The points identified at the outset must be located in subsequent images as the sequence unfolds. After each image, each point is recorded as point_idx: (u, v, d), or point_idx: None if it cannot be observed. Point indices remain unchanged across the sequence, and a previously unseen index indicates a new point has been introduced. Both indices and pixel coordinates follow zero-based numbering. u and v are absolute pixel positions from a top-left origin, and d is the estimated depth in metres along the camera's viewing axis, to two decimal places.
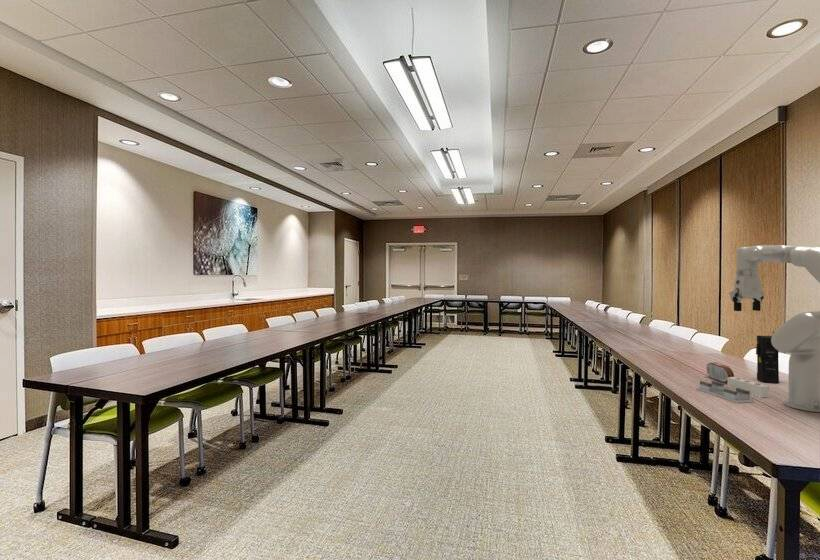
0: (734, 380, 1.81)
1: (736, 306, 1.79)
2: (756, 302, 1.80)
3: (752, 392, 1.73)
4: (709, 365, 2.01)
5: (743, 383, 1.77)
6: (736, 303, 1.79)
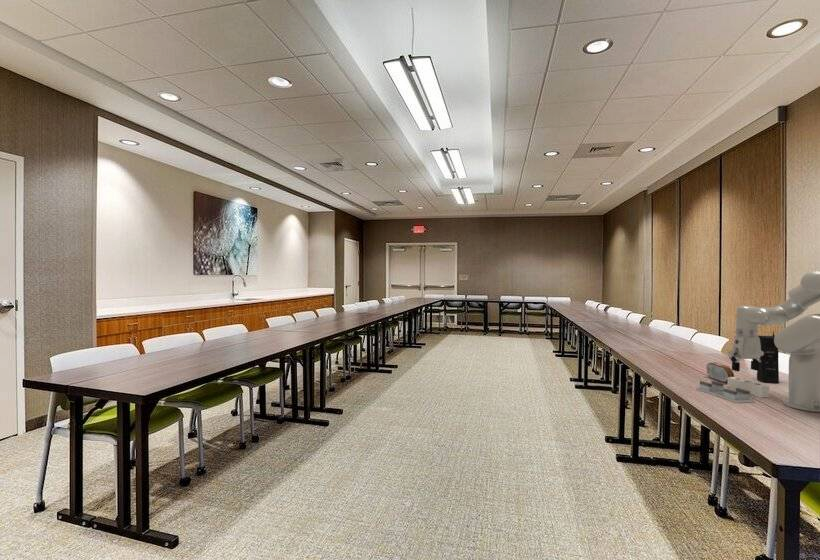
0: (734, 380, 1.81)
1: (734, 366, 1.77)
2: (755, 361, 1.78)
3: (752, 392, 1.73)
4: (709, 365, 2.01)
5: (743, 383, 1.77)
6: (734, 362, 1.77)
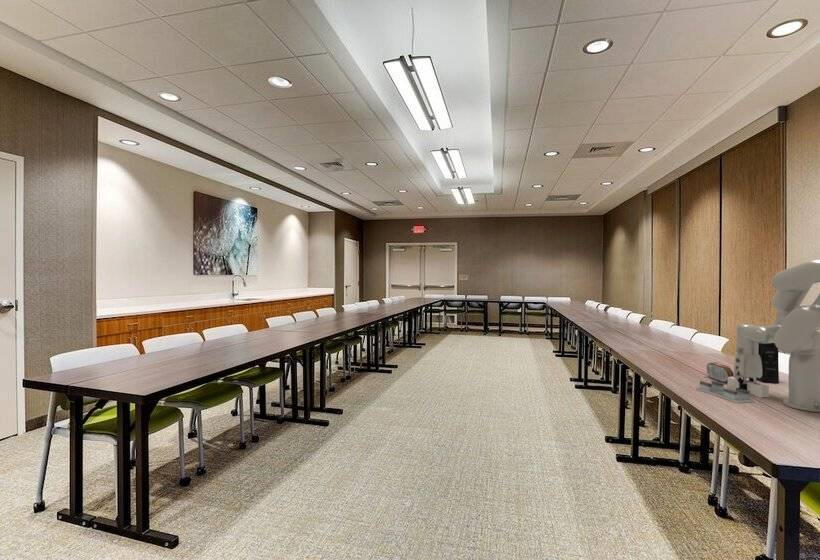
0: (734, 380, 1.81)
1: (742, 387, 1.76)
2: None
3: (752, 392, 1.73)
4: (709, 365, 2.01)
5: None
6: (741, 384, 1.76)
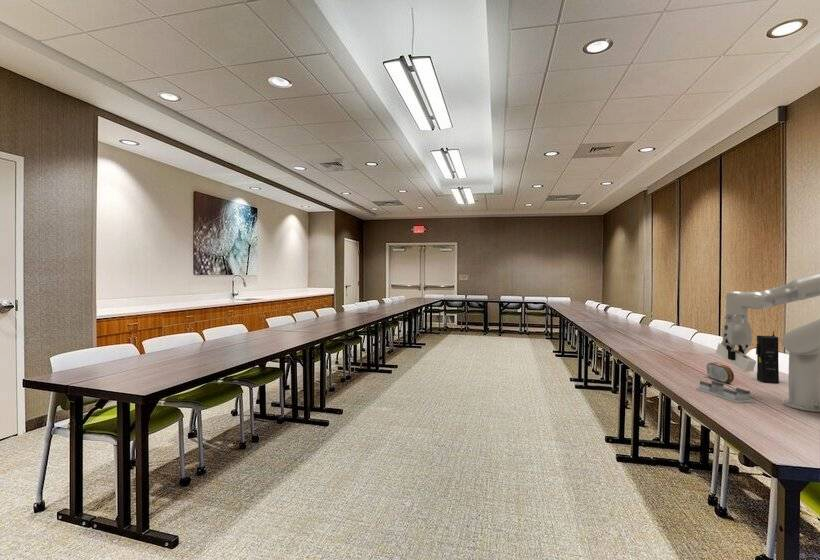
0: (724, 348, 1.79)
1: (730, 355, 1.74)
2: (740, 351, 1.75)
3: (738, 363, 1.72)
4: (709, 365, 2.01)
5: None
6: (730, 351, 1.74)
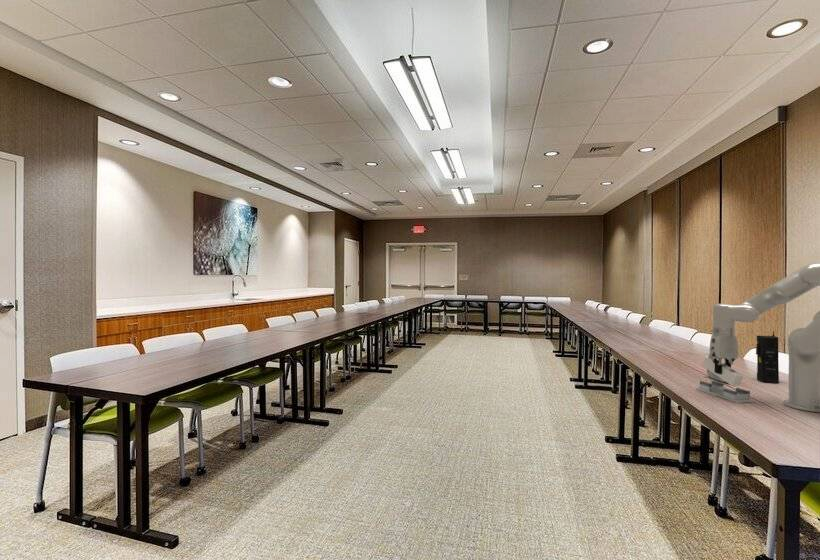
0: (710, 361, 1.76)
1: (717, 368, 1.72)
2: (727, 364, 1.72)
3: (724, 377, 1.69)
4: None
5: None
6: (717, 365, 1.72)
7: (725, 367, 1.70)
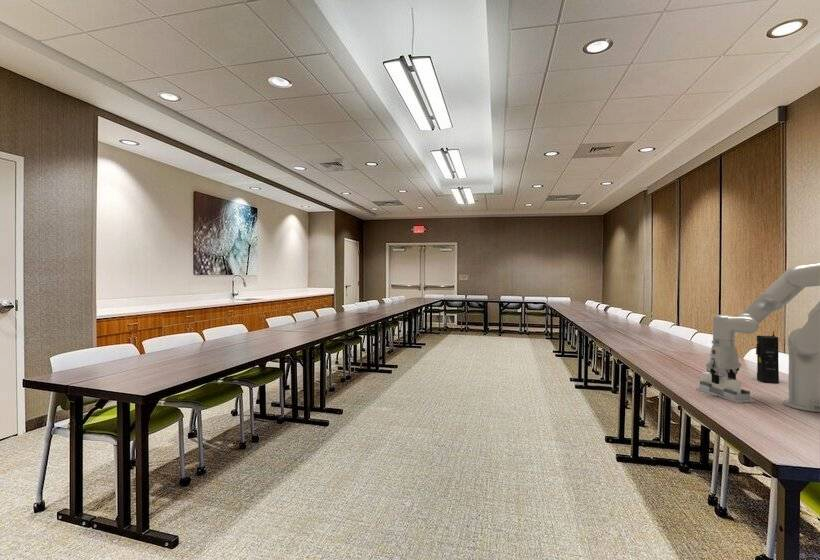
0: (707, 375, 1.78)
1: (714, 378, 1.71)
2: (731, 374, 1.72)
3: (724, 387, 1.69)
4: None
5: None
6: (713, 375, 1.71)
7: (722, 377, 1.72)
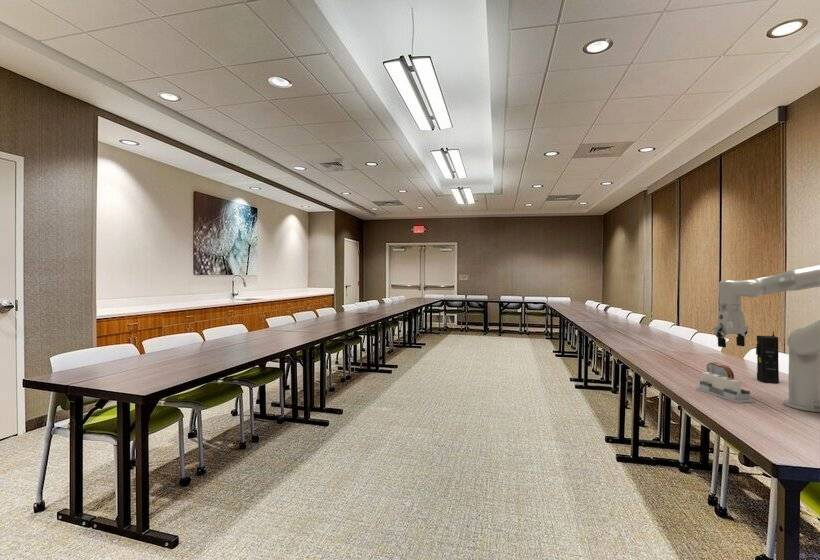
0: (707, 375, 1.78)
1: (720, 342, 1.72)
2: (740, 337, 1.74)
3: (724, 387, 1.69)
4: (709, 365, 2.01)
5: (716, 378, 1.73)
6: (720, 338, 1.72)
7: (722, 377, 1.72)
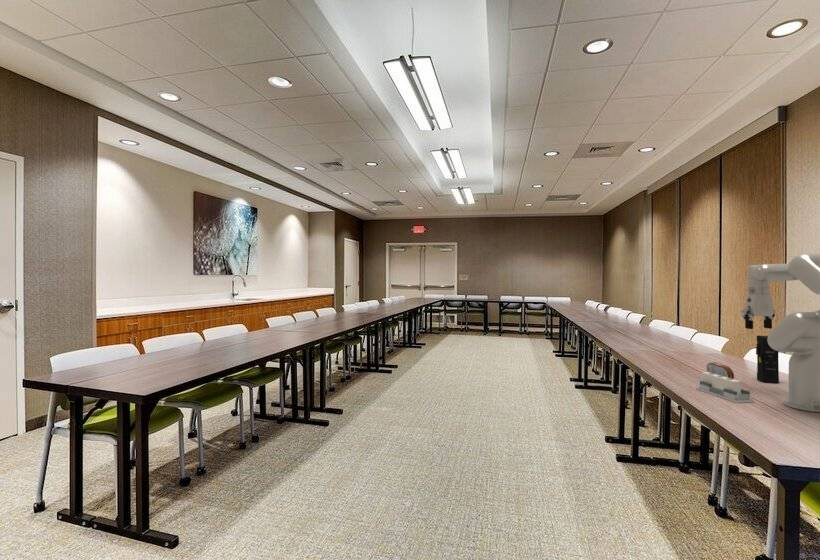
0: (707, 375, 1.78)
1: (748, 324, 1.80)
2: (767, 320, 1.81)
3: (724, 387, 1.69)
4: (709, 365, 2.01)
5: (716, 378, 1.73)
6: (747, 320, 1.80)
7: (722, 377, 1.72)
